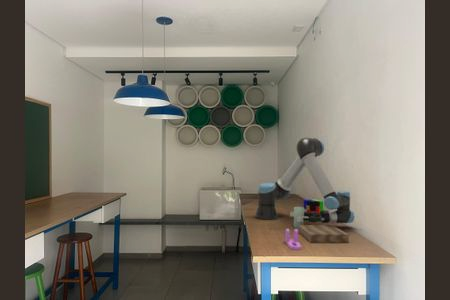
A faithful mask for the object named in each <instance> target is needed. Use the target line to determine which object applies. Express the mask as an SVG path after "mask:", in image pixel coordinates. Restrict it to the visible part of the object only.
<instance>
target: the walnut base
mask: <svg viewBox="0 0 450 300" xmlns="http://www.w3.org/2000/svg"><path fill="white" fill-rule="evenodd" d="M297 229H298V234H300V235H301V236H302V237H303V238H304V239H305V240H306V241H308V242H309V243H350V242H349V240H350V239H349V238H350V236H349V235H350V234H349V233H347V232H345V231H343V230H342V229H340V228H338V227H336V226H335V225H333V224H309V225H308V224H304V225H298V228H297Z"/></svg>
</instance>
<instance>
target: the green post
mask: <svg viewBox="0 0 450 300" xmlns="http://www.w3.org/2000/svg"><path fill="white" fill-rule="evenodd" d="M293 212H294V217H293V228H294V229H298V225H305V222H297V217H304V206H294V207H293Z"/></svg>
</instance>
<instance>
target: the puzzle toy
mask: <svg viewBox="0 0 450 300" xmlns="http://www.w3.org/2000/svg"><path fill="white" fill-rule="evenodd" d="M303 207H304V212H316V213H318V214H320V211H322V210H324V201H323V200H320V199H319V200H318V199H315V198H313V199H303Z"/></svg>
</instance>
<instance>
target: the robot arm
mask: <svg viewBox="0 0 450 300" xmlns="http://www.w3.org/2000/svg"><path fill="white" fill-rule="evenodd" d="M324 151H325V145H324V143H323V141H322V140H321V139H319V138H314V137H312V138H311V137H303V138H300V140H298V142H297V143H296V152H297V157H296V158H295V160H294V161H292V163H291V165H290V166H289V168H288V169H287V170H286V171H285V173H284V174H283V176H282V177H281V178H279V179H277V180H276V181H275V182H274V183H273V182H267V183H266V182H264V183H260V184H259V185H258V190H257V191H258V192H257V194H258V196H257V197H258V200H257V201H258V206H257V208H256V212H255V218H256V219H260V220H270V221H271V220H276V219H279V218H278V212H277V208H276V202H277V201H283V200H286V199H288V197H289V196H290V194H291V190H292V185H293V184H294V183H295V181H296V180H297V179H298V177H299V176H300V175H301V173H303V171H304V170H305V169H306V168H307V171H308V172H309V174H310V175H311V177H312V179H313V181H314V182H315V184H316V186H317V188H318V190H319V192H320V193H321V196H322V197H323V199H324V201H323V206H324V207H325V208H326V209H327V210H324V209H323V210H322V211H320V214H318V213H316V212H304V217H297V222H304V223H305V222H309V223H318V222H320V223H322V224H331V225H333V224H351V223H353V222H354V221H355V213H354V212H353V211H352V210H351V209H350V207H351V192H350V191H347V190H338V191H337V192H336V191H335V189H334V187H333V185H332V184H331V182H330V180H329V179H328V177H327V175H326V173H325V171H324V170H323V168H322V166H321V164H320V162H319V160H318V159H317V157H320V156H321V155H322V154H323V153H324ZM289 214H290V215H289V216H290V217H293V218H294V211H290V213H289Z"/></svg>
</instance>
